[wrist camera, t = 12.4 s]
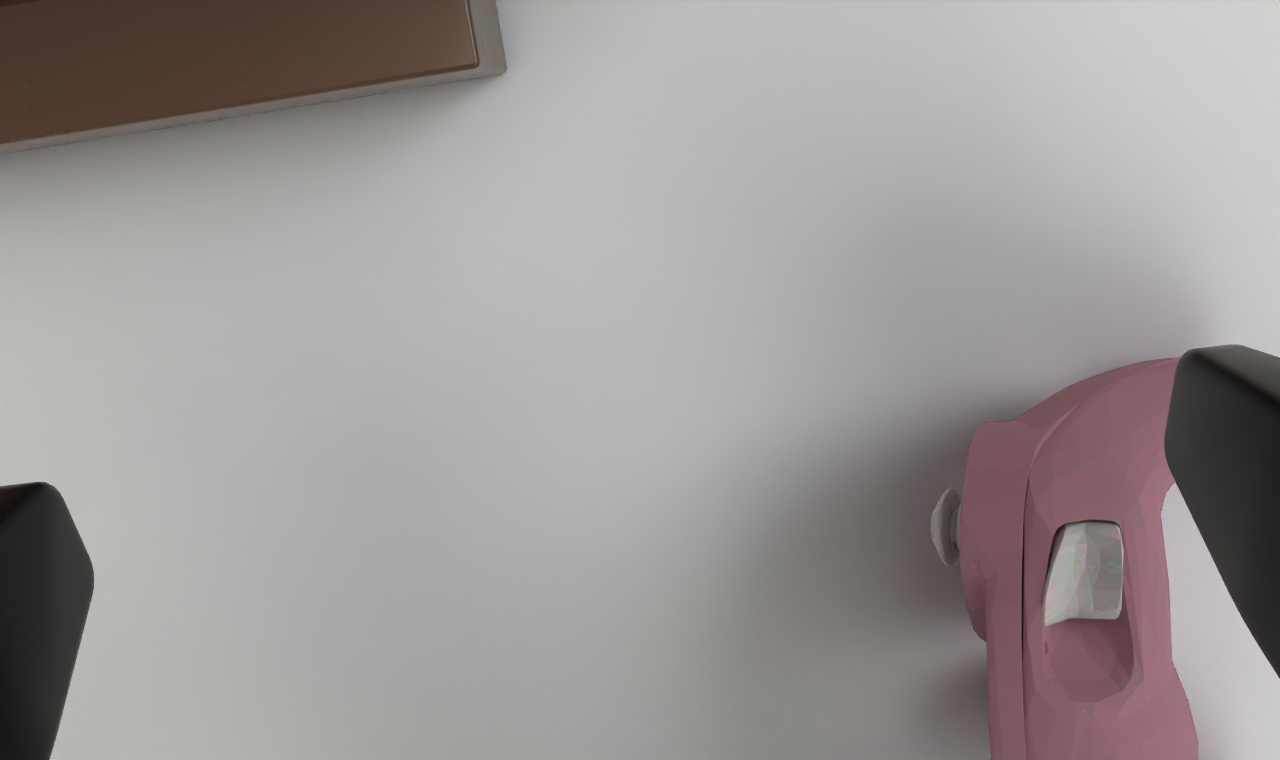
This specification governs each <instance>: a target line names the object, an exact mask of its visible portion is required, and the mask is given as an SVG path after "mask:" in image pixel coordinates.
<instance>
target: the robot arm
mask: <svg viewBox="0 0 1280 760" xmlns="http://www.w3.org/2000/svg"><path fill="white" fill-rule="evenodd" d="M1164 450H1165V457H1166V460H1167V464H1168V466H1169V469H1170V471H1171V473H1172V475H1173V477H1174V479H1175V482H1176V484H1177V486H1178V488H1179V490H1180V492H1181V494H1182V496H1183V498H1184V500H1185V502H1186V504H1187V506H1188V508H1189V511H1190V513H1191V515H1192V517H1193V519H1194V521H1195V523H1196V525H1197V527H1198V529H1199V531H1200V533H1201V535H1202V537H1203V540H1204V542H1205V544H1206V546H1207V548H1208V550H1209V552H1210V554H1211V556H1212V558H1213V560H1214V562H1215V564H1216V566H1217V568H1218V571H1219V573H1220V575H1221V577H1222V579H1223V581H1224V583H1225V585H1226V587H1227V589H1228V591H1229V593H1230V595H1231V597H1232V599H1233V601H1234V603H1235V605H1236V607H1237V609H1238V611H1239V612H1240V614H1241V616H1242V618H1243V620H1244V622H1245V623H1246V625H1247V627H1248V628H1249V630H1250V632H1251V633H1252V635H1253V637H1254V638H1255V640H1256V642H1257V643H1258V645H1259V647H1260V648H1261V650H1262V651H1263V653H1264V655H1265V656H1266V658H1267V659H1268V661H1269V662H1270V664H1271V666H1272V667H1273V669H1274V670H1275V672H1276V673H1277V675H1278V677H1279V678H1280V358H1279V357H1276V356H1273V355H1270V354H1267V353H1264V352H1261V351H1258V350H1254V349H1251V348H1248V347H1245V346H1242V345H1222V346H1214V347H1205V348H1197V349H1192V350H1188V351H1187V352H1186V353H1185V354H1184V355H1182V356H1181V357H1180V359H1179V361H1178V363H1177V366H1176V370H1175V374H1174V380H1173V386H1172V392H1171V398H1170V404H1169V410H1168V416H1167V422H1166V428H1165V434H1164ZM93 589H94V572H93V567H92V563H91V560H90V557H89V555H88V553H87V551H86V548H85V546H84V544H83V542H82V539H81V537H80V535H79V533H78V530H77V528H76V526H75V524H74V521H73V519H72V517H71V515H70V512H69V510H68V508H67V506H66V504H65V501H64V499H63V497H62V496H61V494H60V492H59V491H58V490H57V489H56V488H55V487H54V486H52V485H50V484H48V483H46V482H33V483H24V484H16V485H7V486H0V760H49V759H50V756H51V752H52V749H53V746H54V742H55V739H56V735H57V732H58V728H59V724H60V720H61V717H62V713H63V709H64V705H65V701H66V697H67V693H68V689H69V685H70V681H71V677H72V673H73V669H74V665H75V661H76V658H77V654H78V650H79V646H80V642H81V638H82V634H83V630H84V626H85V622H86V618H87V614H88V610H89V606H90V602H91V598H92V594H93Z"/></svg>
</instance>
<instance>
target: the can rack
mask: <svg viewBox="0 0 1280 760" xmlns="http://www.w3.org/2000/svg"><path fill="white" fill-rule="evenodd" d="M506 69H507V67H506V61H505V55H504V49H503V43H502V37H501V32H500V26H499V20H498V14H497V8H496V2H495V0H0V154H5V153H12V152H18V151H24V150H30V149H37V148H43V147H49V146H55V145H62V144H68V143H74V142H80V141H87V140H93V139H99V138H106V137H112V136H118V135H124V134H131V133H137V132H143V131H149V130H156V129H162V128H168V127H175V126H181V125H187V124H193V123H200V122H206V121H212V120H218V119H225V118H231V117H237V116H244V115H250V114H256V113H262V112H269V111H275V110H281V109H287V108H294V107H300V106H306V105H312V104H319V103H325V102H331V101H338V100H344V99H350V98H356V97H363V96H369V95H375V94H381V93H388V92H394V91H400V90H407V89H413V88H419V87H425V86H432V85H438V84H444V83H450V82H457V81H463V80H469V79H476V78H482V77H488V76H494V75H501V74H503V73H505V72H506Z"/></svg>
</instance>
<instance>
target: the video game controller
mask: <svg viewBox="0 0 1280 760" xmlns="http://www.w3.org/2000/svg"><path fill="white" fill-rule="evenodd" d="M1179 359H1180V357H1178V358H1168V359H1159V360H1152V361H1144V362H1140V363H1136V364H1133V365H1129V366H1125V367H1121V368H1118V369H1114V370H1111V371H1108V372H1105V373H1102V374H1099V375H1096V376H1093V377H1090V378H1088V379H1085V380H1083V381H1080V382H1078V383H1075V384H1073V385H1070V386H1068V387H1067V388H1065V389H1063V390H1061V391H1060V392H1058V393H1056V394H1054V395H1053V396H1051V397H1050V398H1048V399H1046V400H1045V401H1043V402H1042V403H1040V404H1038V405H1037V406H1035V407H1034V408H1032V409H1030V410H1029V411H1027V412H1026V413H1024V414H1022V415H1021V416H1019V417H1018V418H1016V419H1014V420H1013V421H1002V422H984V423H983V424H982V425H981V426H980V427H979V429H978V430H977V431H976V433H975V435H974V437H973V439H972V441H971V445H970V449H969V452H968V456H967V460H966V463H965V470H964V481H963V492H962V501H961V504H960V502H959V499H958V497H957V494H956V492H955V490H954V489H952V488H948V489H947V490H946V491H945V492H944V493H943V494H942V495H941V496H940V500H939V501H938V502H937V505H936V507H935V508H934V510H933V513H932V518H931V538H932V541H933V543H934V545H935V547H936V549H937V551H938V554H939V556H940V559H941V560H942V561H943V562H944V563H945V564H946V565H947V566H949V565H953V564H954V563H955V562H956V560H957V557H958V555H959V552H960V569H961V575H962V582H963V588H964V594H965V600H966V606H967V611H968V614H969V617H970V619H971V622H972V625H973V628H974V631H975V632H976V633H977V634H978V636H979V637H980V638H981V639H983V640H984V641H987V692H988V720H989V735H990V751H991V760H1198V740H1197V736H1196V731H1195V727H1194V723H1193V719H1192V715H1191V711H1190V707H1189V703H1188V699H1187V696H1186V694H1185V691H1184V689H1183V687H1182V684H1181V682H1180V679H1179V677H1178V674H1177V672H1176V669H1175V667H1174V664H1173V662H1172V648H1171V623H1170V597H1169V580H1168V571H1167V563H1166V555H1165V546H1164V538H1163V530H1162V521H1161V510H1162V506H1163V502H1164V498H1165V494H1166V492H1167V491H1168V489H1169V488H1170V487H1171V486H1172V485H1173V483H1175V479H1174V477H1173V475H1172V473H1171V471H1170V469H1169V466H1168V464H1167V460H1166V457H1165V450H1164V434H1165V428H1166V422H1167V416H1168V410H1169V404H1170V398H1171V392H1172V386H1173V380H1174V374H1175V370H1176V366H1177V363H1178V361H1179Z"/></svg>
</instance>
